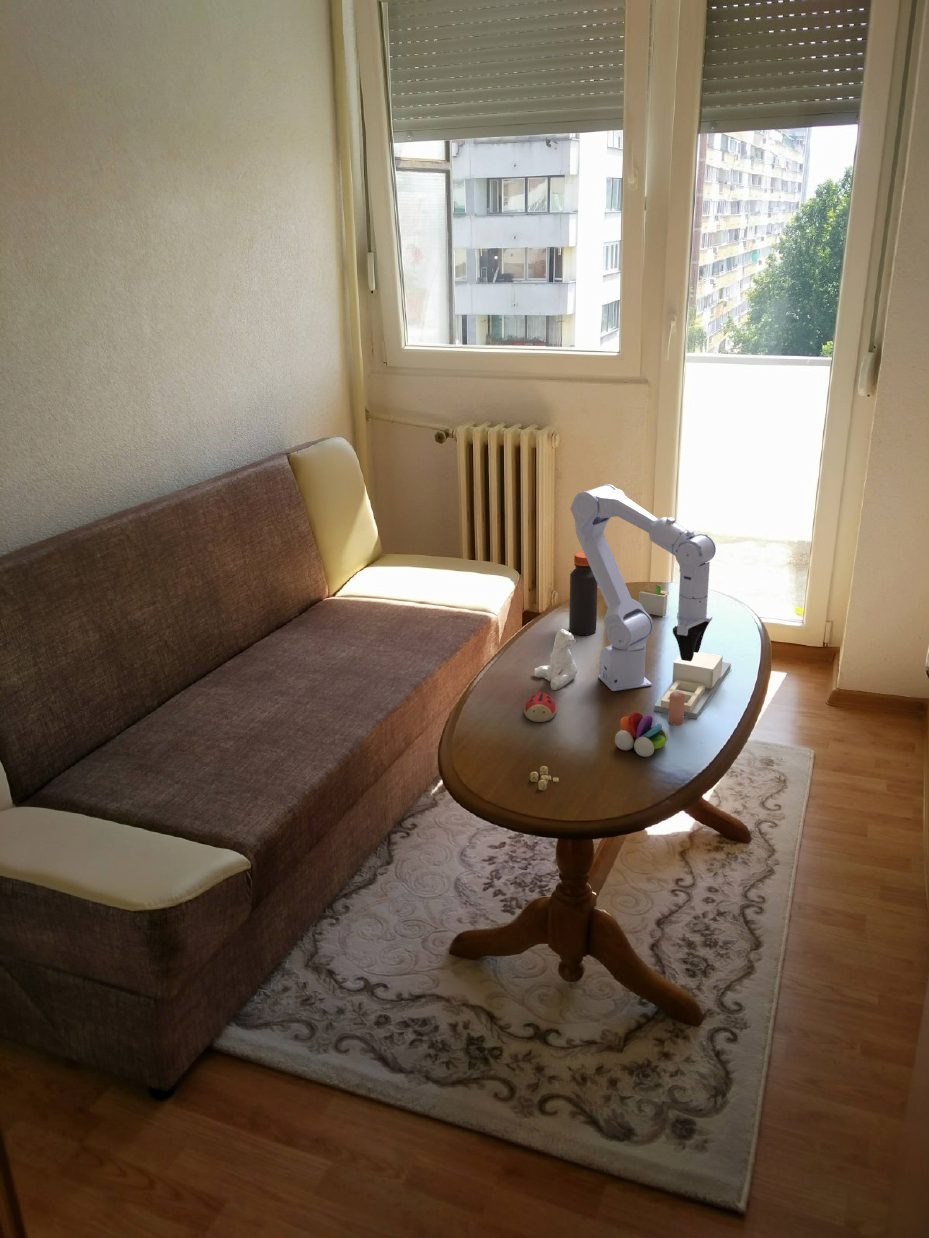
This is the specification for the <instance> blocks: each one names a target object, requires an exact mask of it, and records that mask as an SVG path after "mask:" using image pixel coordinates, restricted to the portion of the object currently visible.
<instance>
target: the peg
mask: <svg viewBox="0 0 929 1238" xmlns="http://www.w3.org/2000/svg"><path fill="white" fill-rule="evenodd" d="M684 703H685V695H684V694H683V693H680V692H673V693H670V700H669V713H668V717H667V718H668V719H667V720H668V721H667V723H669V724H670V725H672V726H681V725H683V724H684V718H685V717H684Z"/></svg>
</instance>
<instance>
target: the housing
mask: <svg viewBox="0 0 929 1238" xmlns="http://www.w3.org/2000/svg"><path fill="white" fill-rule="evenodd" d="M722 662H723V655H720V654H713V653H709V652H703V651H699V652H698V653H696V652H694V656H693V659H692V661H685V660H681V656H680V654H679V655H678V656H677V657H676V659H675V660H674V661H673V666H672V680H671V681H672V682H675V681H676V680H681V681H687V682H692V683H698V684H703V685H705V688H709V689H712V688H713V686H714V685H715V683H716V682H717V680H718V679H719V677H720V676H721V670H722ZM672 682H671V683H672Z"/></svg>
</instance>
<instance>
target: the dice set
mask: <svg viewBox="0 0 929 1238" xmlns="http://www.w3.org/2000/svg"><path fill="white" fill-rule="evenodd" d="M539 774H540V779H539ZM529 776H530V779H529V780H530V782H533V783H537V784H538V786H537V787H538V790H539V791H546V790H548V789H547V786H548V784H549V781H552V782H553V783H559V777H552V775H549V768H548V766H547V765H546V766H545V765H542V766H540V767H539V773H538V772H537V771H531V772H530V773H529Z"/></svg>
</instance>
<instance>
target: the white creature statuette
mask: <svg viewBox="0 0 929 1238" xmlns="http://www.w3.org/2000/svg"><path fill="white" fill-rule="evenodd" d="M569 631H570V630H566V629H564V628H561V629H559V630H558V631H557V632H556V635H555V637H554V638H555V639H554V644H553V645H552V646H553V649H552V652H551V653H550V654H549V656H550V663H549V665H548V664H547V665H539V666H538V667H535V668H534V669H533V670H534V672H533V673H534V677H535V678H538V679H539V678H543V679H545V680H547V681H548V682H550V688H551V690H554V691H557V690H561V689H562V688H563V687H564V686H566V685H568V684H569V683H571V681H573V680H574V679H575V678H576V675H577V674H578V670H579V668H578V667H577V664H576V661H575V660H574V658H573V654H572V652H571V650H570V648H572V646H573V645H575V644H576V642H577V641H576V638H575V636H574V635H573V633H571V632H569Z"/></svg>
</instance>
